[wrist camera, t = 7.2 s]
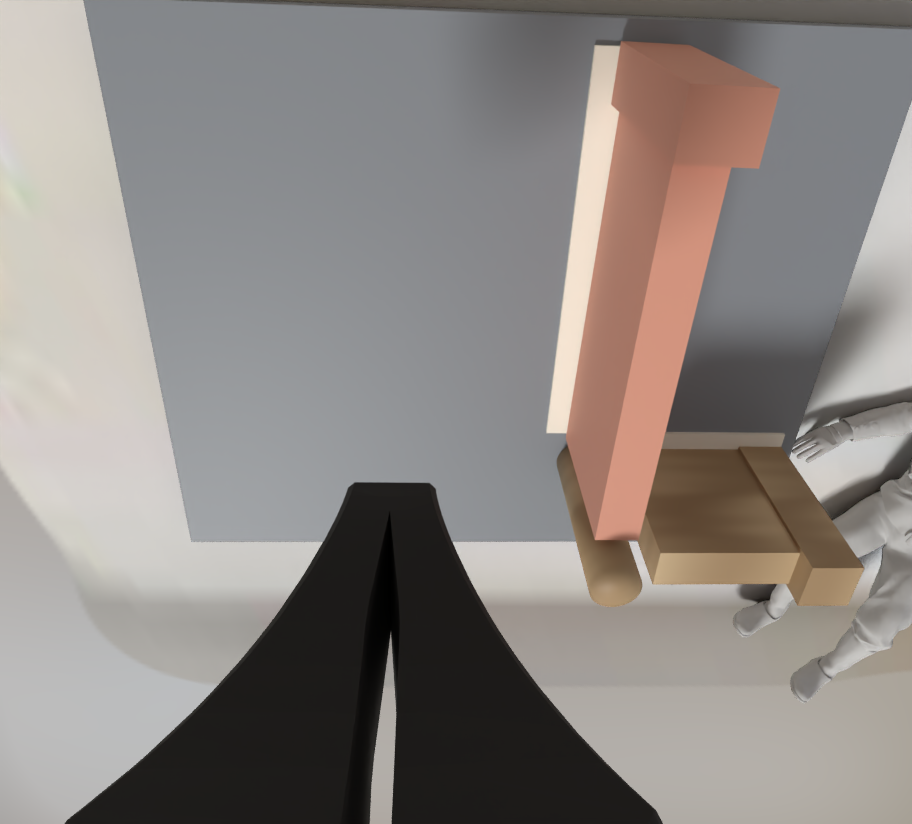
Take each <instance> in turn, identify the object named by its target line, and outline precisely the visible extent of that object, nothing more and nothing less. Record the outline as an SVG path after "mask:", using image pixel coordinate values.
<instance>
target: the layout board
mask: <svg viewBox="0 0 912 824" xmlns="http://www.w3.org/2000/svg"><path fill="white" fill-rule="evenodd" d="M83 1H84V6H85V11H86V16H87V21H88V26H89V31H90V36H91V41H92V46H93V51H94V56H95V61H96V66H97V71H98V76H99V81H100V86H101V91H102V96H103V101H104V106H105V111H106V116H107V121H108V126H109V131H110V136H111V141H112V146H113V151H114V156H115V161H116V166H117V171H118V176H119V181H120V187H121V192H122V197H123V202H124V207H125V212H126V217H127V222H128V227H129V232H130V237H131V242H132V247H133V252H134V257H135V262H136V267H137V272H138V277H139V282H140V287H141V292H142V297H143V302H144V307H145V312H146V317H147V322H148V327H149V332H150V337H151V342H152V347H153V352H154V357H155V362H156V367H157V372H158V377H159V382H160V387H161V392H162V397H163V402H164V407H165V412H166V417H167V422H168V427H169V432H170V437H171V442H172V447H173V452H174V457H175V463H176V468H177V473H178V478H179V483H180V488H181V493H182V498H183V503H184V508H185V513H186V518H187V523H188V528H189V533H190V538H191V542H323V541H324V540H325V538H326V536H327V534H328V532H329V530H330V528H331V526H332V524H333V522H334V520H335V518H336V516H337V514H338V512H339V510H340V507H341V505H342V503H343V500H344V498H345V495H346V492H347V489H348V487H350V486H351V485H352V484H353V483H354V482H395V483H430V484H431V485H432V486H434V487H435V488H436V493H437V498H438V502H439V506H440V510H441V513H442V516H443V519H444V522H445V525H446V527H447V530H448V533H449V535H450V538H451V540H452V542H544V541H576V539H575V535H574V531H573V527H572V523H571V519H570V515H569V511H568V507H567V504H566V500H565V496H564V492H563V488H562V484H561V480H560V476H559V472H558V468H557V458H558V455H559V454H560V452H561V451H562V450H563V449H565V448H566V447H568V444H567V441H566V434H567V428H568V421H569V415H570V409H571V403H572V397H573V391H574V385H575V379H576V373H577V367H578V361H579V354H580V348H581V342H582V336H583V330H584V324H585V318H586V312H587V306H588V300H589V294H590V287H591V281H592V275H593V269H594V263H595V257H596V251H597V245H598V239H599V233H600V227H601V220H602V214H603V208H604V202H605V196H606V190H607V184H608V178H609V172H610V166H611V159H612V153H613V147H614V141H615V135H616V129H617V123H618V117H619V112H618V111H617V110H616V109H615V108H614V107H613V106H612V105H611V102H612V95H613V89H614V83H615V76H616V70H617V63H618V57H619V51H620V44H621V41H630V42H648V43H665V44H682V45H691V46H693V47H695V48H697V49H699V50H701V51H703V52H705V53H707V54H709V55H712V56H714V57H716V58H718V59H720V60H722V61H724V62H726V63H728V64H730V65H732V66H735V67H737V68H739V69H741V70H743V71H745V72H747V73H749V74H751V75H753V76H755V77H758V78H760V79H762V80H764V81H766V82H768V83H770V84H772V85H774V86H776V87H778V88H780V92H779V96H778V99H777V103H776V107H775V111H774V114H773V118H772V122H771V126H770V129H769V133H768V137H767V140H766V144H765V148H764V152H763V155H762V159H761V163H760V167H759V169H755V168H734V167H731V171H730V175H729V179H728V183H727V187H726V191H725V195H724V199H723V203H722V207H721V211H720V215H719V219H718V223H717V227H716V231H715V235H714V239H713V243H712V247H711V251H710V255H709V259H708V263H707V267H706V271H705V275H704V279H703V283H702V287H701V291H700V295H699V299H698V303H697V307H696V311H695V315H694V319H693V323H692V327H691V331H690V335H689V339H688V343H687V347H686V351H685V355H684V360H683V364H682V368H681V372H680V376H679V380H678V384H677V388H676V392H675V396H674V400H673V404H672V408H671V412H670V416H669V420H668V424H667V428H666V432H665V436H664V440H663V444H662V448H661V449H738V448H739V447H782V449H783V450H784V452H785V453H786V455H787V456H788V457H790V454H791V451H792V448H793V445H794V442H795V440H796V437H797V434H798V431H799V428H800V425H801V422H802V419H803V416H804V413H805V410H806V407H807V405H808V402H809V399H810V396H811V393H812V390H813V387H814V384H815V381H816V378H817V375H818V372H819V369H820V367H821V364H822V361H823V358H824V355H825V352H826V349H827V346H828V343H829V340H830V337H831V334H832V331H833V329H834V326H835V323H836V320H837V317H838V314H839V311H840V308H841V305H842V302H843V299H844V296H845V294H846V291H847V288H848V285H849V282H850V279H851V276H852V273H853V270H854V267H855V264H856V261H857V258H858V256H859V253H860V250H861V247H862V244H863V241H864V238H865V235H866V232H867V229H868V226H869V223H870V221H871V218H872V215H873V212H874V209H875V206H876V203H877V200H878V197H879V194H880V191H881V188H882V185H883V183H884V180H885V177H886V174H887V171H888V168H889V165H890V162H891V159H892V156H893V153H894V150H895V147H896V145H897V142H898V139H899V136H900V133H901V130H902V127H903V124H904V121H905V118H906V115H907V112H908V110H909V107H910V104H911V101H912V27H910V26H885V25H860V24H834V23H809V22H784V21H759V20H734V19H709V18H683V17H658V16H633V15H608V14H583V13H558V12H533V11H507V10H482V9H457V8H432V7H407V6H382V5H356V4H331V3H306V2H281V1H256V0H83ZM628 541H637V540H628Z"/></svg>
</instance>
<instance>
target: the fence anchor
mask: <svg viewBox="0 0 912 824" xmlns="http://www.w3.org/2000/svg"><path fill="white" fill-rule="evenodd" d="M557 468H558V472H559V476H560V480H561V484H562V488H563V492H564V496H565V500H566V504H567V507H568V511H569V515H570V519H571V523H572V527H573V531H574V535H575V539H576V543H577V547H578V550H579V554H580V558H581V562H582V566H583V570H584V574H585V578H586V582H587V586H588V590H589V593H590V596H591V598H592V599H593V601H595V602H596V603H597V604H599V605H602V606H607V607H616V606H622V605H625V604H627V603H629V602H631V601H632V600H634V599H635V598H636V597H637V596H638V595H639V594H640V592H641V589H642V580H641V577H640V574H639V571H638V569H637V566H636V563H635V560H634V557H633V554H632V551H631V548H630V545H629V542H628V540H595V539H594V535H593V532H592V528H591V525H590V521H589V518H588V514H587V511H586V507H585V504H584V500H583V497H582V493H581V490H580V486H579V483H578V479H577V476H576V472H575V469H574V465H573V462H572V458H571V455H570V451H569V448H568V447H566V448H565V449H563V450H562V451H561V452H560V454H559V455H558V458H557ZM637 541H638V544H639V547H640V550H641V552H642V555H643V558H644V561H645V564H646V567H647V569H648V572H649V575H650V578H651V581H652V584H786V585H787V587H788V589H789V591H790V593H791V594H792V596H793V598H794V600H795V602H796V603H797V605H798V606H835V605H848V603H849V601H850V599H851V597H852V595H853V592H854V590H855V588H856V586H857V584H858V581H859V579H860V577H861V575H862V573H863V570H864V567H863V565H862V564H861V562H860V561H859V559H858V558H857V557H856V555H855V554H854V552H853V551H852V549H851V548H850V546H849V545H848V543H847V542H846V540H845V539H844V538H843V536H842V535H841V533H840V532H839V530H838V529H837V527H836V526H835V524H834V523H833V522H832V520H831V519H830V517H829V516H828V514H827V513H826V511H825V510H824V508H823V507H822V506H821V504H820V503H819V501H818V500H817V498H816V497H815V495H814V494H813V492H812V491H811V489H810V488H809V487H808V485H807V484H806V482H805V481H804V479H803V478H802V476H801V475H800V473H799V472H798V471H797V469H796V468H795V466H794V465H793V463H792V462H791V460H790V459H789V457H788V456H787V455H786V453H785V452H784V450H783V449H782V447H739V448H738V449H661V452H660V456H659V460H658V464H657V468H656V472H655V476H654V480H653V484H652V488H651V492H650V496H649V500H648V504H647V508H646V512H645V516H644V520H643V524H642V528H641V532H640V536H639V540H637Z"/></svg>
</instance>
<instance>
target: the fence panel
mask: <svg viewBox="0 0 912 824" xmlns="http://www.w3.org/2000/svg"><path fill="white" fill-rule="evenodd" d="M779 92H780V88H778V87H776V86H774V85H772V84H770V83H768V82H766V81H764V80H762V79H760V78H758V77H755V76H753V75H751V74H749V73H747V72H745V71H743V70H741V69H739V68H737V67H735V66H732V65H730V64H728V63H726V62H724V61H722V60H720V59H718V58H716V57H714V56H712V55H709V54H707V53H705V52H703V51H701V50H699V49H697V48H695V47H693V46H691V45H682V44H665V43H648V42H630V41H621V44H620V51H619V57H618V63H617V70H616V76H615V83H614V89H613V95H612V102H611V105H612V106H613V107H614V108H615V109H616V110H617V111H618V112H619V117H618V123H617V129H616V135H615V141H614V147H613V153H612V159H611V166H610V172H609V178H608V184H607V190H606V196H605V202H604V208H603V214H602V220H601V227H600V233H599V239H598V245H597V251H596V257H595V263H594V269H593V275H592V281H591V287H590V294H589V300H588V306H587V312H586V318H585V324H584V330H583V336H582V342H581V348H580V354H579V361H578V367H577V373H576V379H575V385H574V391H573V397H572V403H571V409H570V415H569V421H568V428H567V434H566V441H567V444H568V448H569V451H570V455H571V458H572V462H573V465H574V469H575V472H576V476H577V479H578V483H579V486H580V490H581V493H582V497H583V500H584V504H585V507H586V511H587V514H588V518H589V521H590V525H591V528H592V532H593V535H594V539H595V540H639V536H640V532H641V528H642V524H643V520H644V516H645V512H646V508H647V504H648V500H649V496H650V492H651V488H652V484H653V480H654V476H655V472H656V468H657V464H658V460H659V456H660V452H661V448H662V444H663V440H664V436H665V432H666V428H667V424H668V420H669V416H670V412H671V408H672V404H673V400H674V396H675V392H676V388H677V384H678V380H679V376H680V372H681V368H682V364H683V360H684V355H685V351H686V347H687V343H688V339H689V335H690V331H691V327H692V323H693V319H694V315H695V311H696V307H697V303H698V299H699V295H700V291H701V287H702V283H703V279H704V275H705V271H706V267H707V263H708V259H709V255H710V251H711V247H712V243H713V239H714V235H715V231H716V227H717V223H718V219H719V215H720V211H721V207H722V203H723V199H724V195H725V191H726V187H727V183H728V179H729V175H730V171H731V167H734V168H755V169H759V167H760V163H761V159H762V155H763V152H764V148H765V144H766V140H767V137H768V133H769V129H770V126H771V122H772V118H773V114H774V111H775V107H776V103H777V99H778V96H779Z"/></svg>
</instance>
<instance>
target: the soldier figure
mask: <svg viewBox="0 0 912 824" xmlns="http://www.w3.org/2000/svg"><path fill="white" fill-rule="evenodd" d="M907 433H912V402H910V403H908V402H902V403H897V404H893V405H890V406H887V407H880V408H875V409H871V410H867V411H864V412H861V413H859V414H856V415H853V416H851V417H847V418H842V419H840V421H839V422H837V423H834V424H831V425H830V426H824V427H819V428H816V429H815V430H813V431H811V432H810V433H808V434H805V435H803V436H801V437H799V438H798V439H796V440H795V442H794V445H793V447H794V446H796V445H798V444H800V443H801V442H803V441H806V442H805V443H803V444H801V445H799V446H798V447H796V448H795V449H793V450H792V453H797V452H799V451H801V450H802V449H804V448H806V447H808V446H811V445H813V444H816V445H814V446H812V447H811V448H809V449H807V450H805V451H803V452H801V453H800V454H798V455H797V458H798V459H801V458H803V457H805V456H807V455H809V454H811V453H813V452H815V451H817V450H819V451H818V452H816V453H815V454H813V455H812V456H810V457H808V458H807V459H806V462H807V463H809V462H811V461H813V460H815V459H816V458H818V457H820V456H822V455H823V454H825V453H827V452H829V451H830V450H832V449H834V448H836V447H838V446H839V445H840V444H842V443H844V442H845V441H847V440H851V441H860V440H864V439H870V438H876V437H880V436H890V437H892V436H900V435H904V434H907ZM807 440H808V441H807ZM880 490H881V491H879V492H877V493H874V494H872V495H870V496H868V497H866V498H865V499H863V500H861V501H860V502H858V503H857V504H856V505H854V506H853V507H851V508H850V509H849V510H848V511H846V512H845V513H844V514H842V515H841V516H839V517H837V518H835V519H834V520H832V522H833V523H834V524H835V526H836V527H837V529H838V530H839V532H840V533H841V535H842V536H843V538H844V539H845V540H846V542H847V543H848V545H849V546H850V548H851V549H852V551H853V552H854V554H855V555H856V557H857V558H859V557H861V556H864V555H866V554H868V553H870V552H872V551H874V550H876V549H878V548H879V547H881V546H883V545H885V546H884V547H883V548H882V561H881V566H880V569H879V571H878V574H877V576H876V579H875V581H874V583H873V585H872V588H871V590H870V594H869V598H868V599H867V600H866V601H865V602H864V604H863V605H862V606H861V607H860V608H859V609H858V611H857V613H856V619H855V620H853V621H852V626H851V628H850V629H848V631H847V632H846V633H845V634H844V635H843V636H842V638H841V639H840V641H839V642H838V644H837V646H836V649H835V650H834V651H832V652H830V653H828V654H827V655H825V656H821V657H818V658H815V659H812V660H811V661H810V662H809V663H807V664H806V665H804V666H803V667H801V668H800V669H799V670H798V671H796V672H795V673H793V675H792V677H791V682H790V684H791V690H792V692H793V694H794V695H795V696H796V698H797V699H798V700H799V701H800V702H801V703H806V702H807V701H808V700H810V699H811V698H812V697H813V696H814V695H815V694H816V693H817V692H818V690H819V689H820V688H821V687H822V686H823V685H824V684H826V683H827V682H829V681H831V680H832V678H833V677H835V675H836V674H837V673H838V672H839V671H843V670H846V669H848V668H849V667H851V666H852V665H853V664H855V663H856V662H858V661H860V660H862V659H863V658H865V657H867V656H870V655H872V654H874V653H876V652H878V651H879V650H886V649H889V648H891V647H892V644H893V638H894V636H895V635H896V634H897V633H898V632H899V631H900V630H903V629H906V628H907V627H909V626H910V625H911V623H912V459H911V462H910V466H909V469H908V470H907V471H906V472H905V473H904V475H903V476H902V477H901V478H900V479H897V480H889V481H887V482H886V483H884V484H883V485H882V486H881V487H880ZM792 600H794V598H793V596H792V594H791V593H790V591H789V589H788V587H787V585H786V584H777V585H776V587H775V589H774V590H773V591H772V594H771V597H770V600H766V601H762V602H760V603H758V604H755V605H752V606H749V607H746V608H743V609H742V610H740V611H738V612H737V613H736V614H735V616H734V618H733V625H734V628H735V629H736V631H737V632H738V634H739V635H740V636H741V637H749V636H751V635H752V634H753V633H755V632H757V631H758V630H759V629H761V628H762V627H764V626H766V625H768V624H770V623H772V622H774V621H776V620H779V619H780V618H781V617H782V615H783V614H784V613H785V611H786V610H787V609H788V607H789V605H790V603H791V601H792ZM818 662H819V663H818Z"/></svg>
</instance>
